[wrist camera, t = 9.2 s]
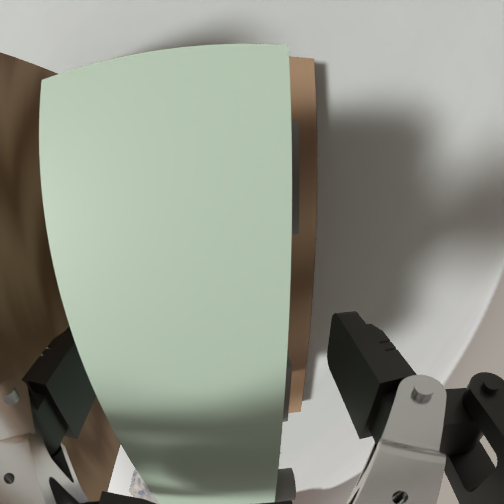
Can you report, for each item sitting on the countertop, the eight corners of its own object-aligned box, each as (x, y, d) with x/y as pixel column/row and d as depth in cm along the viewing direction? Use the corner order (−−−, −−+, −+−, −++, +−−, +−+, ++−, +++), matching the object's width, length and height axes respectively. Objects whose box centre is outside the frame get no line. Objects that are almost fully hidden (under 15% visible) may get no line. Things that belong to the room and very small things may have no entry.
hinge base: (60, 89, 12) (-68, 58, 3) (308, 64, 13) (404, -34, 3) (115, 402, 19) (80, 507, 9) (298, 402, 20) (328, 518, 10)
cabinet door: (181, 135, 13) (41, 79, 2) (266, 132, 13) (371, 56, 3) (202, 377, 17) (191, 542, 7) (266, 375, 17) (295, 538, 7)
